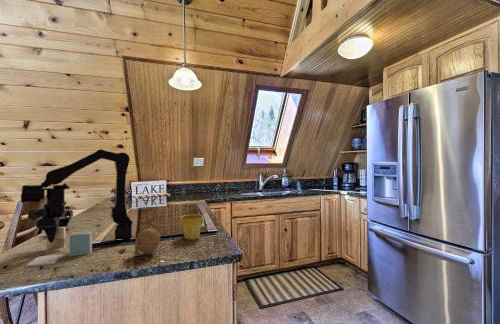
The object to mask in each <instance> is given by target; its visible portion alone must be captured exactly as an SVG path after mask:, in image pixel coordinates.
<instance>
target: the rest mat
mask: <svg viewBox="0 0 500 324" xmlns="http://www.w3.org/2000/svg"><path fill="white" fill-rule="evenodd" d="M63 255H64V254H63V253H62V254H52V255H43V256H42V255H40V256H36V257H35V258H34V259H32V260H31V261H30V262H28V263H27V264H25V267H26V268H27V267H36V266H45V265H54V264H56V262H58V260H60V259H61V258H62V257H63Z"/></svg>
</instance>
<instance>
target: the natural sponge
mask: <svg viewBox="0 0 500 324" xmlns="http://www.w3.org/2000/svg"><path fill="white" fill-rule="evenodd" d="M138 233H139V234H138V235H137V237H136V239H135V241H134V248H135V249H136V250H138V251H140V252H143V253H144V254H146V255H148V256H149V255H152V254H153V253H155V252H156V250H157V249H158V246H159V245H160V241H161V235H160V232H159V231H158V230H156V229H155V228H145V229H143V230H141V231H140V232H138Z"/></svg>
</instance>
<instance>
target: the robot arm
mask: <svg viewBox="0 0 500 324" xmlns="http://www.w3.org/2000/svg"><path fill="white" fill-rule="evenodd" d="M99 160H106V161H111V162H114V167H115V172H116V177H115V195H114V196H115V197H114V198H115V201H114V204H113V206H110V214H109V217H110V218H111V219H112V220H113V223H115V224H116V226H115V230H114V239H115V240H116V239H130V238H133V236H134V235H133V221H132V219H131V218H130V217H128V212H127V207H126V200H125V199H126V184H127V183H126V182H127V181H126V180H127V172H128V171H127V170H128V168H129V164H130V160H131V159H130V156H129V154H127V153H126V152H118V153H116V152H112V151H107V150H104V149H97V150H96V151H95V152H93V153H90V154H89V155H87V156H85V157H82V158H80V159H78V160H77V161H75V162H72V163H70V164H68V165H65V166H62V167H58V168H55V169H53V170H50V171H48V172H47V173H46V175H45V180H44V181H43V182H41V183H40V184H34V185H32V184H31V185H29V184H26V185H22V189H21V194H20V201H21V203H22V204H28V203H30V204H31V203H41V202H42V201H43V200H44V199H45V198H46V204H44V205H43V208H41V209H38V210H37V209H36V208H33V209H31V210H29V211H28V213H27V218H28V219H30V221H31V222H33V221H36V220H37V219H38V220H37V221H36V222H35V228H37V229H39V230H42V231H44V233H45V236H46V235H47V238H48V240H49V242H50V243H51V242H53V241H54V239H55V236H56V233H57V230H58V228H59V227H66V228H67V227H68V226H69V223H70V222H71V220H72V218H73V216H74V212H73V211H74V210H72V209H65V208H66V205H67V201H65V190H69V189H71V186H69V185H68V184H67V183H66V182H64V181H65V180H66V179H67V178H69V177H70V176H72V175H73V174H74V173H75V172H78V171H80V170H82V169H84V168H86V167H87V166H89V165H92V164H94V163H95V162H97V161H99ZM62 182H64V183H63V184H61V183H62ZM52 185H53V187H50V186H52Z"/></svg>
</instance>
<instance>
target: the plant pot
mask: <svg viewBox="0 0 500 324" xmlns="http://www.w3.org/2000/svg"><path fill="white" fill-rule="evenodd" d="M203 224H204V216H203V214H202V215H201V214H187V215H186V214H185V215H182V216H181V217H180V225H181V227H182V230H183V231H182V232H183V237H184V239H186V240H197V239H199V238H200V233H201V229H202V225H203Z"/></svg>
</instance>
